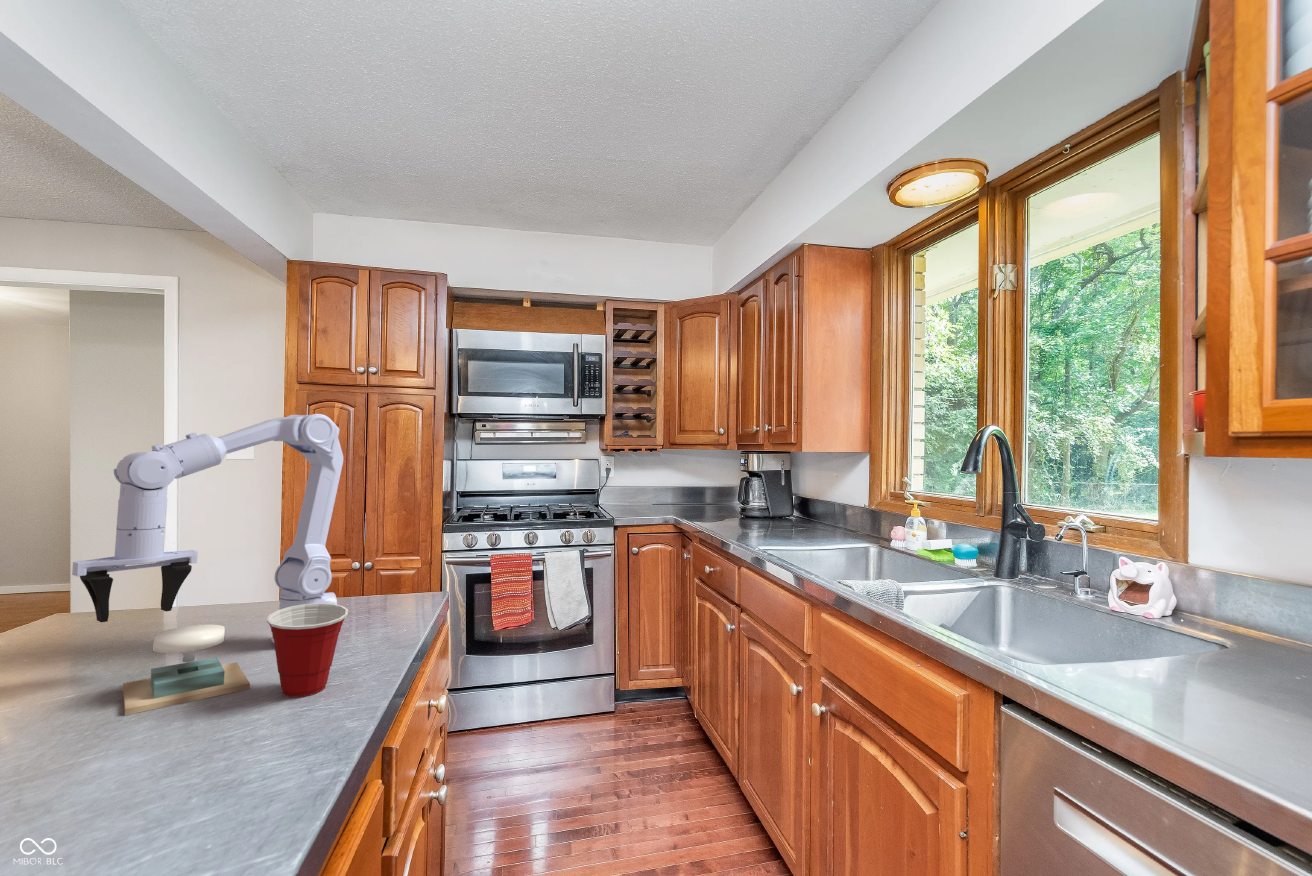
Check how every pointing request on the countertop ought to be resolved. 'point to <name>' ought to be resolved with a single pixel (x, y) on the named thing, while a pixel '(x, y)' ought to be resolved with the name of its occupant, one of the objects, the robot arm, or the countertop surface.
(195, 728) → the countertop surface
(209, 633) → the disc
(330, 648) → the plastic cup
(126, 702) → the dispenser base
